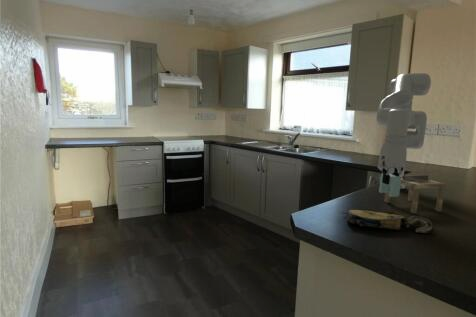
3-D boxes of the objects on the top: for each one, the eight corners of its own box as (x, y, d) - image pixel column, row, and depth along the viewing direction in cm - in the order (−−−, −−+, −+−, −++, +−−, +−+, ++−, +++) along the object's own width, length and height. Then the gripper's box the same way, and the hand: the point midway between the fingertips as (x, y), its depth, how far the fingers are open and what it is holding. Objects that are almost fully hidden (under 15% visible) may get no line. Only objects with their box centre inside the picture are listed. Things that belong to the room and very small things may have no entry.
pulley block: (443, 221, 95) (344, 210, 103) (441, 239, 95) (342, 226, 103) (427, 214, 109) (341, 204, 117) (426, 230, 109) (340, 219, 117)
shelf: (384, 201, 138) (387, 171, 135) (409, 200, 142) (413, 171, 140) (413, 213, 123) (418, 180, 120) (441, 211, 127) (446, 179, 125)
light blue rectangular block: (378, 192, 128) (381, 173, 127) (386, 191, 129) (388, 173, 128) (391, 196, 122) (393, 177, 120) (398, 196, 123) (401, 177, 121)
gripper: (404, 138, 127) (398, 180, 131) (371, 138, 122) (367, 182, 126) (419, 140, 120) (413, 184, 124) (385, 141, 115) (380, 187, 119)
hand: (390, 183), depth 125 cm, fingers closed on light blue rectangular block, 4 cm apart
